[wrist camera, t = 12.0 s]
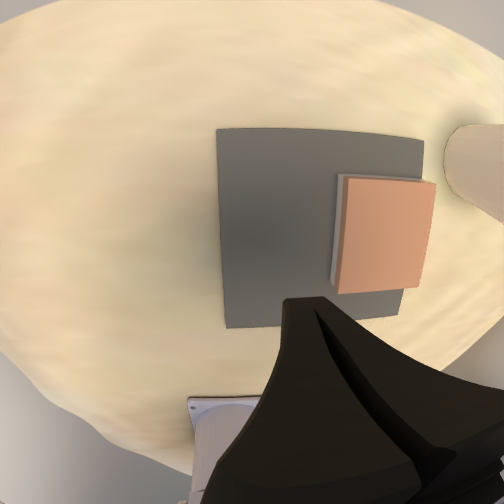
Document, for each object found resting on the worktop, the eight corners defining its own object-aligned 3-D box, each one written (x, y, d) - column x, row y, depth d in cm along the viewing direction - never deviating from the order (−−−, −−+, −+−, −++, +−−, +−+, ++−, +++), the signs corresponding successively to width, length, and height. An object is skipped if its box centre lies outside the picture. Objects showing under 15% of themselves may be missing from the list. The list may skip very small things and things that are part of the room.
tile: (329, 280, 20) (406, 275, 20) (337, 294, 18) (418, 287, 18) (338, 173, 17) (421, 178, 17) (348, 178, 15) (436, 184, 16)
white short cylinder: (493, 117, 16) (559, 127, 10) (496, 200, 19) (555, 228, 12) (432, 117, 16) (505, 123, 10) (438, 212, 19) (502, 249, 13)
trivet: (394, 311, 22) (397, 315, 21) (226, 323, 21) (226, 328, 21) (419, 140, 17) (424, 140, 16) (217, 129, 16) (216, 129, 16)
